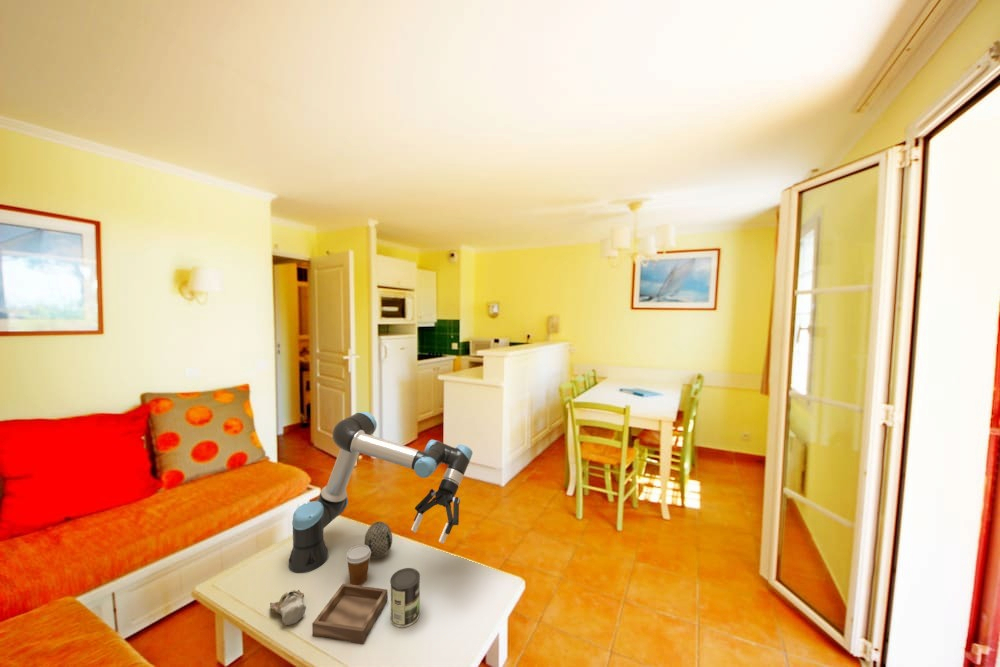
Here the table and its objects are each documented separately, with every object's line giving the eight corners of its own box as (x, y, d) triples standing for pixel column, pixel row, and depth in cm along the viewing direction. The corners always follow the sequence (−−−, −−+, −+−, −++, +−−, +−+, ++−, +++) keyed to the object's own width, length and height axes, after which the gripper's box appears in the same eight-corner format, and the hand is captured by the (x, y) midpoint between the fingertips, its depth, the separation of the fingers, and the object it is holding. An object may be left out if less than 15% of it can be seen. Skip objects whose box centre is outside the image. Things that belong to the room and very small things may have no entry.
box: (342, 594, 139) (342, 583, 139) (387, 600, 137) (387, 589, 137) (312, 636, 122) (312, 623, 121) (363, 644, 119) (363, 631, 119)
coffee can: (420, 602, 137) (420, 566, 136) (418, 625, 127) (419, 587, 126) (392, 605, 135) (392, 569, 134) (388, 629, 125) (388, 590, 124)
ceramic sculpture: (278, 611, 121) (267, 588, 132) (279, 636, 121) (268, 611, 132) (313, 594, 128) (300, 574, 139) (313, 618, 128) (300, 596, 139)
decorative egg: (382, 567, 155) (382, 533, 154) (358, 561, 158) (358, 528, 157) (397, 550, 166) (397, 518, 165) (375, 544, 169) (375, 513, 168)
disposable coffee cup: (362, 590, 142) (362, 561, 141) (340, 586, 143) (340, 557, 143) (375, 573, 151) (375, 545, 150) (355, 569, 153) (354, 542, 152)
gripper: (479, 493, 147) (457, 550, 135) (431, 478, 159) (407, 530, 147) (472, 486, 142) (449, 544, 130) (423, 471, 154) (397, 523, 142)
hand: (426, 536), depth 138 cm, fingers open, 13 cm apart
